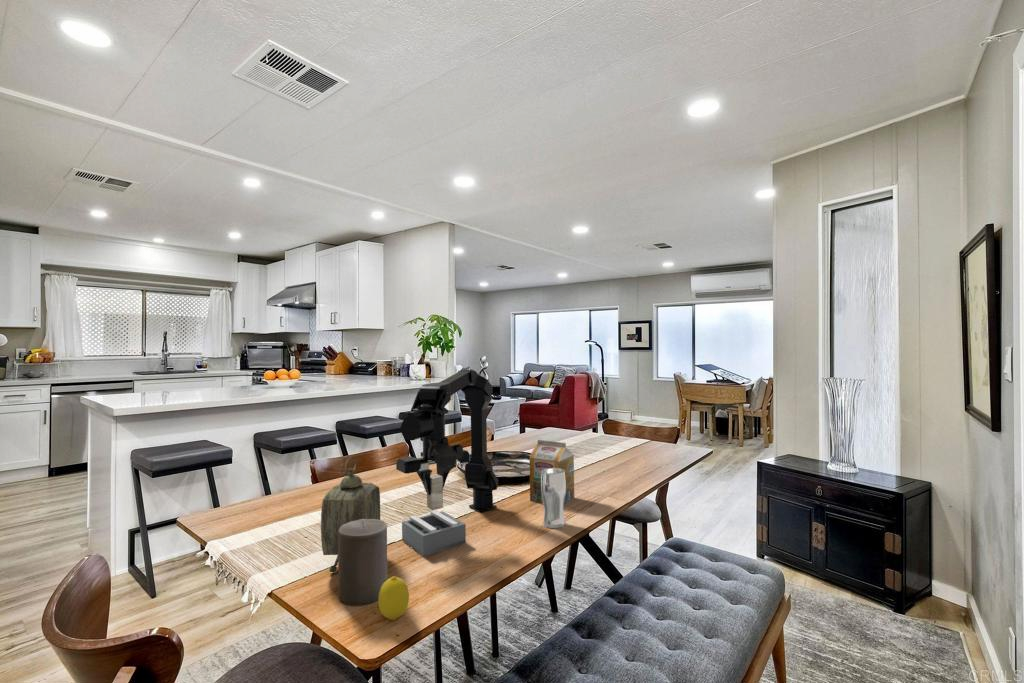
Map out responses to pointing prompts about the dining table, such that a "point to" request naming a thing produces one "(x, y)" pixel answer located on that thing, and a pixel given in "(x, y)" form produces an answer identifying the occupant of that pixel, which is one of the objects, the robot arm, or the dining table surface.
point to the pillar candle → (362, 561)
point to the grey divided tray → (433, 533)
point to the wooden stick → (435, 492)
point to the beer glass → (553, 496)
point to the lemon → (393, 598)
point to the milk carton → (550, 457)
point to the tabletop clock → (346, 508)
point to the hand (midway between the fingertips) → (434, 493)
